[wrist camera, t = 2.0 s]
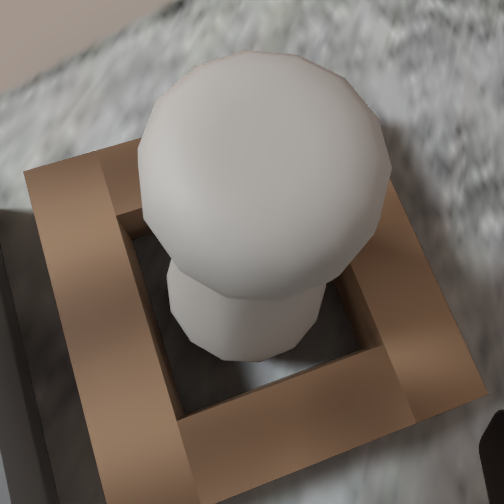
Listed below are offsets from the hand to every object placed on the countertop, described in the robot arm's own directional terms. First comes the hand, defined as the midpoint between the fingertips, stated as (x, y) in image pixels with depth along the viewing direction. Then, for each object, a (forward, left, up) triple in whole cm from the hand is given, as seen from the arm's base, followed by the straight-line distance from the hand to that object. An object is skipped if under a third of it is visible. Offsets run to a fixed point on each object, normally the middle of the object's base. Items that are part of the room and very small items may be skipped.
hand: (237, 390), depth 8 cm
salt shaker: (+3, -2, -11) cm, 12 cm away
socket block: (+3, -2, -11) cm, 11 cm away
